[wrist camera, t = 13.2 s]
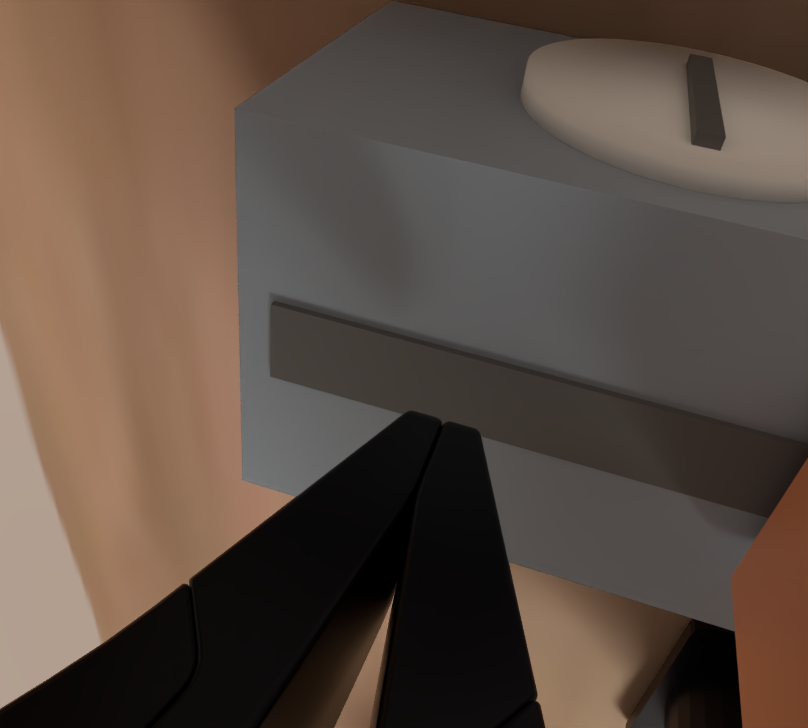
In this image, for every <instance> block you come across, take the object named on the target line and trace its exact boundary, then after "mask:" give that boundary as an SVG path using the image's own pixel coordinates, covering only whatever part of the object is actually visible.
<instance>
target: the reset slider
mask: <svg viewBox="0 0 808 728" xmlns="http://www.w3.org/2000/svg"><path fill="white" fill-rule="evenodd" d="M731 589H732V601H733V614H734V626H735V639H736V651H737V664H738V676H739V689H740V701H741V714H742V726H743V728H808V458H807V460H806V461H805V463H804V465H803V466H802V468H801V469H800V471H799V472H798V474H797V475H796V477H795V478H794V480H793V482H792V483H791V485H790V486H789V488H788V489H787V491H786V492H785V494H784V495H783V497H782V499H781V500H780V502H779V503H778V505H777V506H776V508H775V509H774V511H773V512H772V514H771V516H770V517H769V519H768V520H767V522H766V523H765V525H764V526H763V528H762V529H761V531H760V533H759V534H758V536H757V537H756V539H755V540H754V542H753V543H752V545H751V546H750V548H749V550H748V551H747V553H746V554H745V556H744V557H743V559H742V560H741V562H740V563H739V565H738V567H737V568H736V570H735V571H734V573H733V574H732V576H731Z"/></svg>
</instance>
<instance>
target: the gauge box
mask: <svg viewBox="0 0 808 728" xmlns="http://www.w3.org/2000/svg"><path fill="white" fill-rule="evenodd" d="M235 152H236V200H237V248H238V296H239V344H240V392H241V439H242V480H244V481H247V482H250V483H253V484H257V485H260V486H263V487H266V488H270V489H273V490H276V491H279V492H283V493H286V494H289V495H292V496H298V495H299V494H300V493H302V492H303V491H304V490H305V489H307V488H308V487H309V486H311V485H312V484H313V483H314V482H316V481H317V480H318V479H320V478H321V477H322V476H324V475H325V474H326V473H327V472H329V471H330V470H331V469H333V468H334V467H335V466H336V465H338V464H339V463H340V462H342V461H343V460H344V459H346V458H347V457H348V456H349V455H351V454H352V453H353V452H355V451H356V450H357V449H358V448H360V447H361V446H362V445H364V444H365V443H366V442H368V441H369V440H370V439H371V438H373V437H374V436H375V435H377V434H378V433H379V432H380V431H382V430H383V429H384V428H386V427H387V426H388V425H390V424H391V423H392V422H393V421H395V420H396V419H397V418H399V417H400V416H401V415H402V414H404V413H405V412H407V411H417V412H420V413H424V414H427V415H431V416H434V417H437V418H440V420H441V421H442V426H443V424H444V423H445V422H447V421H451V422H455V423H458V424H462V425H465V426H469V427H472V428H475V429H477V430H478V431H479V432H480V434H481V437H482V442H483V447H484V451H485V456H486V460H487V465H488V470H489V474H490V479H491V483H492V488H493V492H494V497H495V502H496V506H497V511H498V515H499V520H500V525H501V529H502V534H503V538H504V543H505V547H506V552H507V557H508V561H509V562H510V563H514V564H517V565H520V566H523V567H527V568H530V569H533V570H536V571H540V572H543V573H546V574H549V575H553V576H556V577H559V578H562V579H566V580H569V581H572V582H575V583H579V584H582V585H585V586H588V587H592V588H595V589H598V590H601V591H605V592H608V593H611V594H615V595H618V596H621V597H624V598H628V599H631V600H634V601H637V602H641V603H644V604H647V605H650V606H654V607H657V608H660V609H663V610H667V611H670V612H673V613H676V614H680V615H683V616H686V617H689V618H693V619H696V620H699V621H702V622H706V623H709V624H712V625H715V626H719V627H722V628H725V629H728V630H732V631H735V626H734V614H733V601H732V589H731V576H732V574H733V573H734V571H735V570H736V568H737V567H738V565H739V563H740V562H741V560H742V559H743V557H744V556H745V554H746V553H747V551H748V550H749V548H750V546H751V545H752V543H753V542H754V540H755V539H756V537H757V536H758V534H759V533H760V531H761V529H762V528H763V526H764V525H765V523H766V522H767V520H768V519H769V517H770V516H771V514H772V512H773V511H774V509H775V508H776V506H777V505H778V503H779V502H780V500H781V499H782V497H783V495H784V494H785V492H786V491H787V489H788V488H789V486H790V485H791V483H792V482H793V480H794V478H795V477H796V475H797V474H798V472H799V471H800V469H801V468H802V466H803V465H804V463H805V461H806V460H807V458H808V82H806V81H803V80H801V79H798V78H796V77H793V76H790V75H787V74H785V73H782V72H779V71H776V70H773V69H770V68H767V67H764V66H760V65H757V64H754V63H750V62H747V61H743V60H740V59H736V58H732V57H728V56H724V55H720V54H716V53H711V52H707V51H702V50H697V49H692V48H687V47H681V46H676V45H669V44H662V43H655V42H647V41H638V40H626V39H606V38H595V39H581V38H576V37H571V36H566V35H561V34H556V33H551V32H546V31H541V30H536V29H531V28H526V27H521V26H516V25H511V24H506V23H501V22H496V21H491V20H486V19H481V18H476V17H471V16H466V15H461V14H456V13H451V12H446V11H441V10H436V9H431V8H426V7H421V6H416V5H411V4H406V3H401V2H396V1H390V2H388V3H387V4H385V5H384V6H383V7H381V8H380V9H378V10H377V11H375V12H374V13H372V14H371V15H369V16H368V17H366V18H365V19H364V20H362V21H361V22H359V23H358V24H356V25H355V26H353V27H352V28H350V29H349V30H348V31H346V32H345V33H343V34H342V35H340V36H339V37H337V38H336V39H334V40H333V41H332V42H330V43H329V44H327V45H326V46H324V47H323V48H321V49H320V50H318V51H317V52H316V53H314V54H313V55H311V56H310V57H308V58H307V59H305V60H304V61H302V62H301V63H300V64H298V65H297V66H295V67H294V68H292V69H291V70H289V71H288V72H286V73H285V74H284V75H282V76H281V77H279V78H278V79H276V80H275V81H273V82H272V83H270V84H269V85H268V86H266V87H265V88H263V89H262V90H260V91H259V92H257V93H256V94H254V95H253V96H252V97H250V98H249V99H247V100H246V101H244V102H243V103H241V104H240V105H238V106H237V107H236V108H235Z"/></svg>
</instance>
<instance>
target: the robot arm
mask: <svg viewBox="0 0 808 728" xmlns="http://www.w3.org/2000/svg"><path fill="white" fill-rule="evenodd" d="M394 593H395V594H394ZM393 596H394V599H393ZM392 599H393V604H392V609H391V614H390V619H389V623H388V629H387V634H386V640H385V645H384V651H383V656H382V662H381V667H380V673H379V678H378V684H377V689H376V695H375V701H374V706H373V712H372V717H371V723H370V728H545V724H544V720H543V715H542V711H541V706H540V704H539V703H538V702H537V701H536V699H537V690H536V685H535V680H534V676H533V671H532V667H531V662H530V657H529V653H528V648H527V644H526V639H525V635H524V630H523V625H522V621H521V616H520V612H519V607H518V602H517V598H516V593H515V589H514V584H513V580H512V575H511V570H510V566H509V561H508V557H507V552H506V547H505V543H504V538H503V534H502V529H501V525H500V520H499V515H498V511H497V506H496V502H495V497H494V492H493V488H492V483H491V479H490V474H489V470H488V465H487V460H486V456H485V451H484V447H483V442H482V437H481V434H480V432H479V431H478V430H477V429H475V428H472V427H469V426H465V425H462V424H458V423H455V422H451V421H447V422H445V423H444V424H443V426H442V421H441V420H440V418H437V417H434V416H431V415H427V414H424V413H420V412H417V411H407V412H405V413H404V414H402V415H401V416H400V417H399V418H397V419H396V420H395V421H393V422H392V423H391V424H390V425H388V426H387V427H386V428H384V429H383V430H382V431H380V432H379V433H378V434H377V435H375V436H374V437H373V438H371V439H370V440H369V441H368V442H366V443H365V444H364V445H362V446H361V447H360V448H358V449H357V450H356V451H355V452H353V453H352V454H351V455H349V456H348V457H347V458H346V459H344V460H343V461H342V462H340V463H339V464H338V465H336V466H335V467H334V468H333V469H331V470H330V471H329V472H327V473H326V474H325V475H324V476H322V477H321V478H320V479H318V480H317V481H316V482H314V483H313V484H312V485H311V486H309V487H308V488H307V489H305V490H304V491H303V492H302V493H300V494H299V495H298V496H296V497H295V498H294V499H293V500H291V501H290V502H289V503H287V504H286V505H285V506H283V507H282V508H281V509H280V510H278V511H277V512H276V513H274V514H273V515H272V516H271V517H269V518H268V519H267V520H265V521H264V522H263V523H261V524H260V525H259V526H258V527H256V528H255V529H254V530H252V531H251V532H250V533H249V534H247V535H246V536H245V537H243V538H242V539H241V540H239V541H238V542H237V543H236V544H234V545H233V546H232V547H230V548H229V549H228V550H227V551H225V552H224V553H223V554H221V555H220V556H219V557H217V558H216V559H215V560H214V561H212V562H211V563H210V564H208V565H207V566H206V567H205V568H203V569H202V570H201V571H199V572H198V573H197V574H195V575H194V576H193V577H192V578H191V579H190V580H189V586H188V585H187V584H182V585H181V586H179V587H178V588H177V589H175V590H174V591H173V592H172V593H170V594H169V595H168V596H167V597H165V598H164V599H163V600H161V601H160V602H159V603H158V604H156V605H155V606H154V607H152V608H151V609H150V610H148V611H147V612H146V613H144V614H143V615H141V616H140V617H139V618H137V619H136V620H135V621H133V622H132V623H130V624H129V625H128V626H126V627H125V628H124V629H122V630H121V631H119V632H118V633H117V634H115V635H114V636H113V637H111V638H110V639H109V640H107V641H106V642H104V643H103V644H101V645H100V646H98V647H97V648H95V649H94V650H92V651H90V652H89V653H87V654H86V655H84V656H83V657H81V658H80V659H78V660H77V661H75V662H74V663H72V664H70V665H69V666H68V667H66V668H64V669H63V670H61V671H60V672H58V673H57V674H55V675H54V676H52V677H51V678H49V679H47V680H46V681H44V682H43V683H41V684H39V685H38V686H36V687H35V688H33V689H31V690H30V691H28V692H26V693H25V694H23V695H22V696H20V697H18V698H17V699H15V700H14V701H12V702H10V703H9V704H7V705H6V706H4V707H2V708H1V709H0V728H334V727H335V725H336V723H337V720H338V718H339V716H340V714H341V712H342V710H343V707H344V705H345V703H346V701H347V699H348V697H349V694H350V692H351V690H352V688H353V686H354V684H355V681H356V679H357V677H358V675H359V673H360V671H361V668H362V666H363V664H364V662H365V660H366V658H367V655H368V653H369V651H370V649H371V647H372V645H373V642H374V640H375V638H376V636H377V634H378V632H379V629H380V627H381V625H382V623H383V621H384V618H385V616H386V614H387V611H388V609H389V606H390V604H391V602H392ZM626 728H743V726H742V714H741V701H740V689H739V676H738V664H737V651H736V639H735V631H732V630H728V629H725V628H722V627H719V626H715V625H712V624H709V623H706V622H702V621H699V620H696V619H693V620H692V621H691V622H690V623H689V625H688V626H687V628H686V629H685V631H684V633H683V634H682V636H681V637H680V639H679V641H678V642H677V644H676V645H675V647H674V648H673V650H672V652H671V653H670V655H669V656H668V658H667V660H666V661H665V663H664V664H663V666H662V668H661V669H660V671H659V672H658V674H657V675H656V677H655V679H654V680H653V682H652V683H651V685H650V687H649V688H648V690H647V691H646V693H645V695H644V696H643V698H642V699H641V701H640V702H639V704H638V706H637V707H636V709H635V710H634V712H633V714H632V715H631V717H630V718H629V720H628V721H627V723H626Z"/></svg>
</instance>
